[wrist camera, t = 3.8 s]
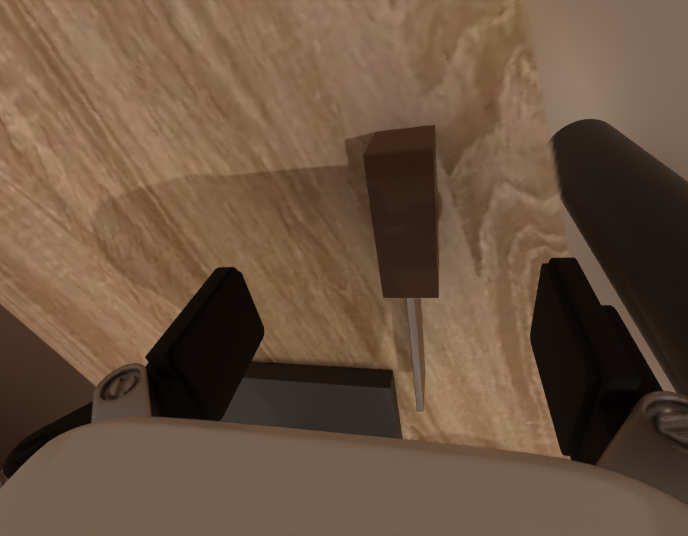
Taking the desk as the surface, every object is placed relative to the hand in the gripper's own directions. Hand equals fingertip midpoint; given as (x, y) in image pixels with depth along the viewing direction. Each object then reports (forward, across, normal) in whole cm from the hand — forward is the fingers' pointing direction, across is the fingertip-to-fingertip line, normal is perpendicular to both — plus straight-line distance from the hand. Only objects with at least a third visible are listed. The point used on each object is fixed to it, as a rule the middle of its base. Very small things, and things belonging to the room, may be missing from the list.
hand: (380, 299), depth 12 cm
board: (+7, +10, +20) cm, 24 cm away
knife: (+7, 0, +4) cm, 9 cm away
